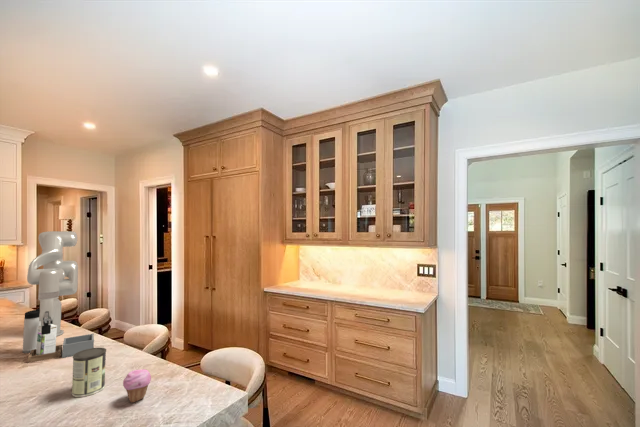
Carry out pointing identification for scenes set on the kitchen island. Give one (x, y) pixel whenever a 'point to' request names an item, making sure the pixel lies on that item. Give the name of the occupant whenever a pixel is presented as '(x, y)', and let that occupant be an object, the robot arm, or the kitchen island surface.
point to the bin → (77, 344)
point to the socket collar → (44, 355)
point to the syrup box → (46, 341)
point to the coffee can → (88, 372)
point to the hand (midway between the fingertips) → (46, 331)
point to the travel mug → (31, 330)
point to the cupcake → (137, 384)
